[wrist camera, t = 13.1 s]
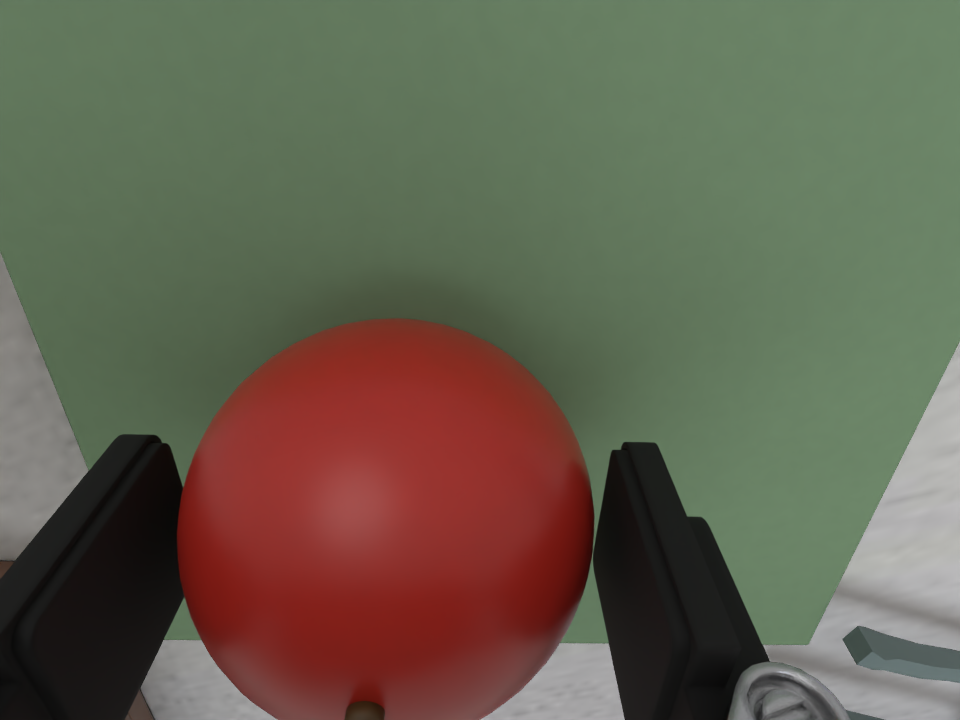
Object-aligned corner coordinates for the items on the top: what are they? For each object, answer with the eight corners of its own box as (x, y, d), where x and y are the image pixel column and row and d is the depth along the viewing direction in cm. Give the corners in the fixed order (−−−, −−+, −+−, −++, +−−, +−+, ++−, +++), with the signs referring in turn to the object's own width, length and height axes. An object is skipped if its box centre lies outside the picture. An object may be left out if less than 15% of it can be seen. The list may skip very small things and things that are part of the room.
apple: (281, 510, 15) (144, 874, 9) (229, 253, 12) (-58, 552, 5) (551, 514, 16) (606, 874, 9) (582, 261, 12) (706, 560, 6)
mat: (165, 623, 19) (156, 640, 18) (-182, -278, 8) (-224, -295, 8) (799, 628, 19) (809, 646, 19) (1206, -223, 9) (1250, -237, 8)
